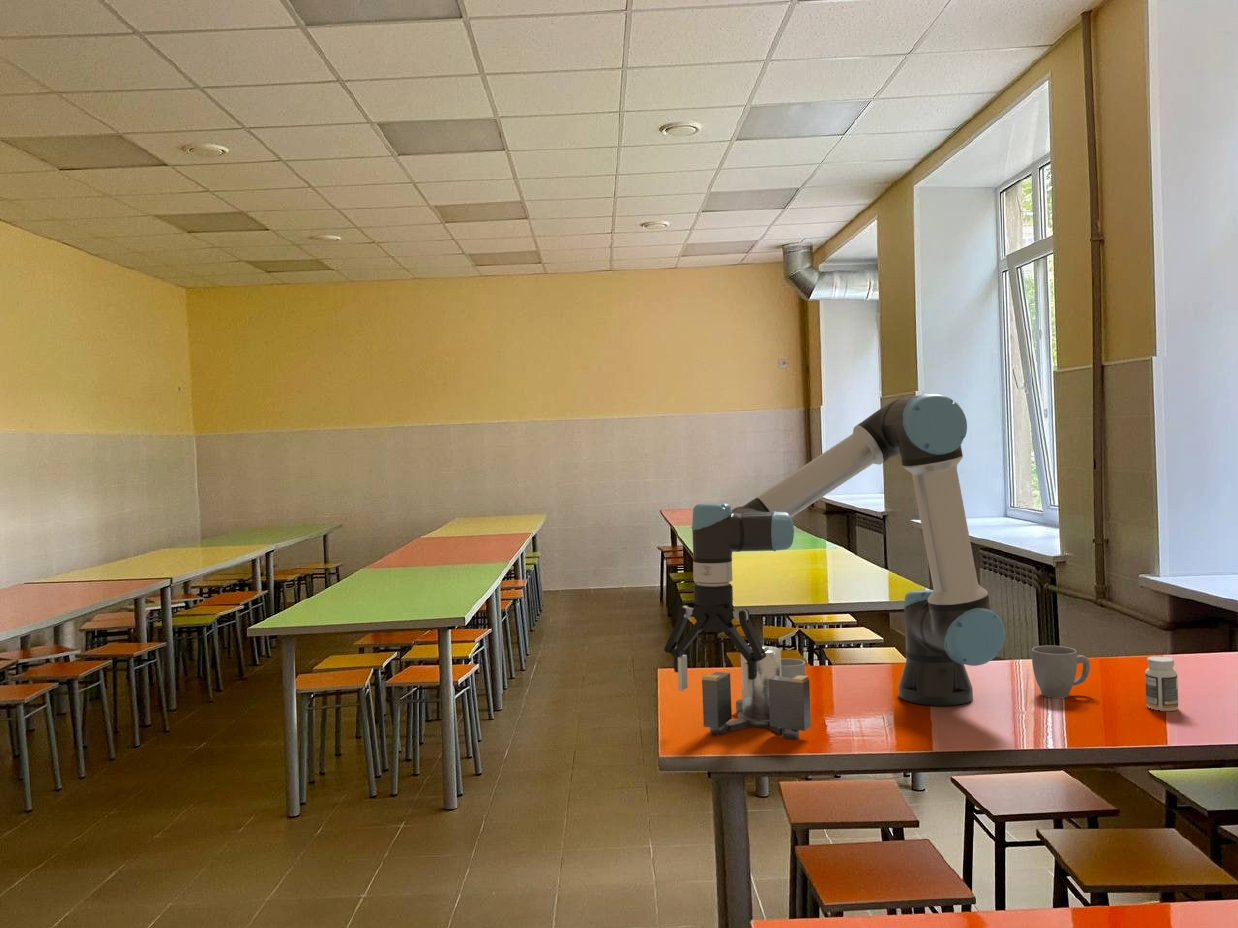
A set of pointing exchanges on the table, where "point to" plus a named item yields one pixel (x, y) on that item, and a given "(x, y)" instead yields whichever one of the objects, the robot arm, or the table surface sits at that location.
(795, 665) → the cup
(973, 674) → the table surface
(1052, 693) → the mug
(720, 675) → the tan-tipped grey block
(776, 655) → the stand
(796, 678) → the grey rectangular block
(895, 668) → the table surface
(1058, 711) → the table surface
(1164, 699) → the pill bottle
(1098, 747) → the table surface
